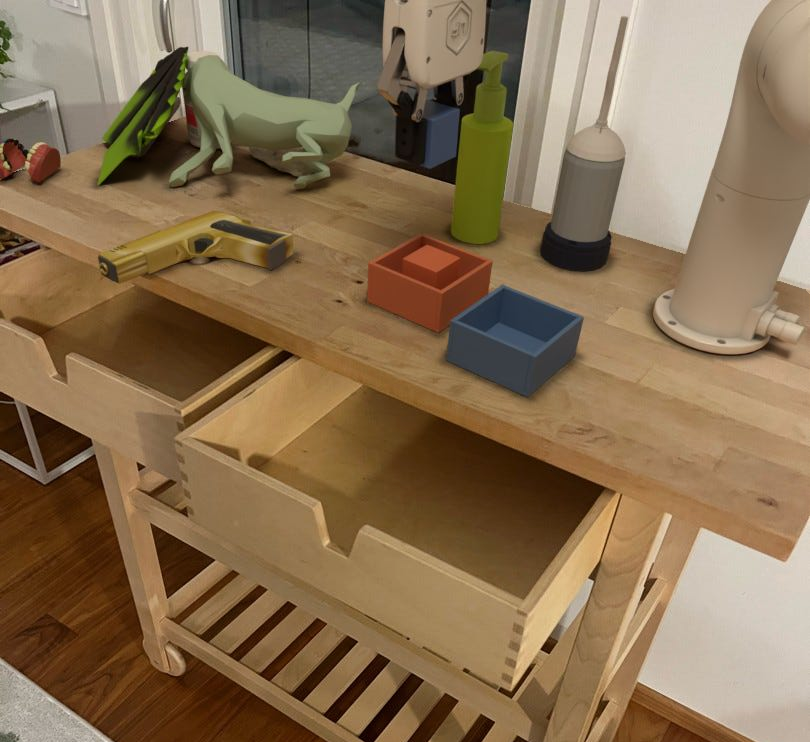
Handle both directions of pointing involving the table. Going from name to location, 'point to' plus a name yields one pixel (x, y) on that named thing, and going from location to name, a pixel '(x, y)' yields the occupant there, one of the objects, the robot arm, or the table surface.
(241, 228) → the handgun
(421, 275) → the terracotta block
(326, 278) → the table surface
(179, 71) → the cloth
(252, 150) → the sponge
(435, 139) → the blue block
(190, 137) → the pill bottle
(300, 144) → the statue
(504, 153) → the soap dispenser
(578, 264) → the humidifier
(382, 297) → the terracotta bin
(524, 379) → the blue bin
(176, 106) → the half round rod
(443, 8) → the robot arm
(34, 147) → the dentures
